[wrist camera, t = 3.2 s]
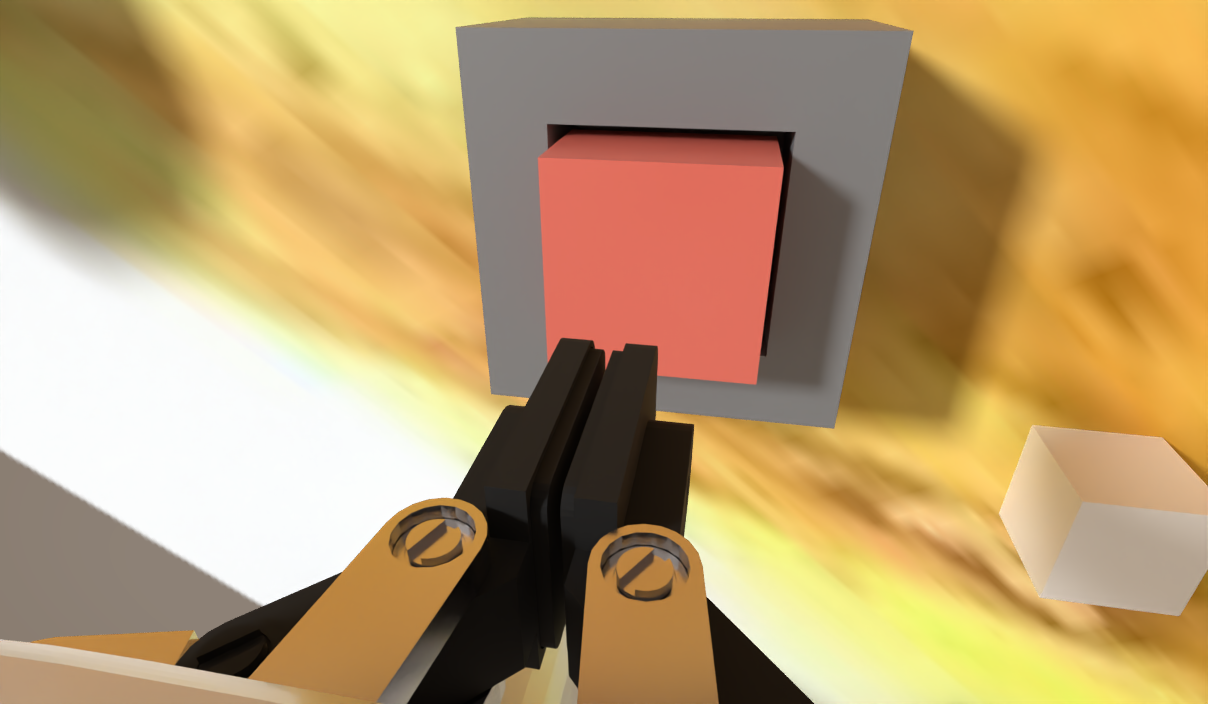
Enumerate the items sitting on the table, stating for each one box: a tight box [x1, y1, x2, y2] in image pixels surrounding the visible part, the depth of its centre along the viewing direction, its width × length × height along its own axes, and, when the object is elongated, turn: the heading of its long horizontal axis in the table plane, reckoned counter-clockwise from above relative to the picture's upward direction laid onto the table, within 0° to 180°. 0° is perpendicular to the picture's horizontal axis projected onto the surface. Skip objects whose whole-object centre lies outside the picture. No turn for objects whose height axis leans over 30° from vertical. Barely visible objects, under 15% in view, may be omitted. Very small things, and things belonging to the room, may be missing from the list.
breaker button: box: [538, 129, 784, 385], centre depth 20 cm, size 6×6×4 cm
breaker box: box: [456, 18, 913, 428], centre depth 23 cm, size 12×12×7 cm
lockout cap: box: [999, 425, 1208, 616], centre depth 27 cm, size 5×5×5 cm
